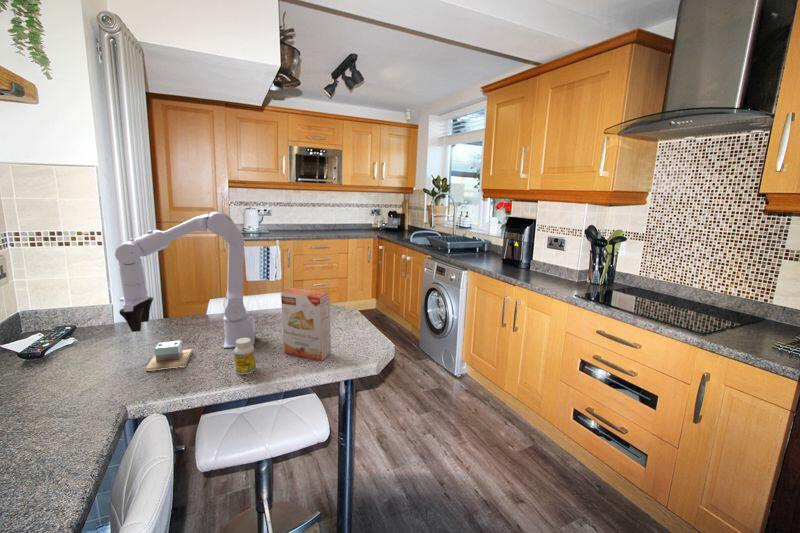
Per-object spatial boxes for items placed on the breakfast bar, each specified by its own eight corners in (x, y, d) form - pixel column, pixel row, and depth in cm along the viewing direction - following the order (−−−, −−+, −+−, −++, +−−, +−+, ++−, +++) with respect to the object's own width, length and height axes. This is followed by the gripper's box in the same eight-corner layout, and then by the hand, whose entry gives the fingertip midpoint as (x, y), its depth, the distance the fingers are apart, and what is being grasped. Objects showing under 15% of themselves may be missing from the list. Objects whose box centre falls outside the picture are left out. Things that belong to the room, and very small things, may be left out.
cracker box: (283, 354, 121) (279, 291, 116) (294, 346, 126) (291, 286, 121) (321, 362, 116) (319, 297, 111) (331, 353, 122) (330, 291, 117)
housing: (182, 353, 117) (180, 340, 116) (179, 359, 113) (177, 345, 112) (160, 355, 115) (158, 342, 114) (156, 362, 111) (154, 348, 110)
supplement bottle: (256, 365, 113) (254, 335, 111) (254, 374, 108) (251, 343, 106) (237, 367, 112) (234, 337, 110) (234, 376, 107) (231, 345, 105)
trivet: (192, 352, 121) (191, 348, 120) (185, 367, 111) (185, 363, 111) (156, 356, 118) (155, 352, 117) (146, 372, 108) (145, 368, 108)
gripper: (126, 277, 117) (133, 318, 120) (107, 291, 103) (115, 337, 106) (153, 276, 119) (158, 316, 122) (137, 289, 105) (144, 334, 109)
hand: (140, 326), depth 114 cm, fingers open, 7 cm apart
